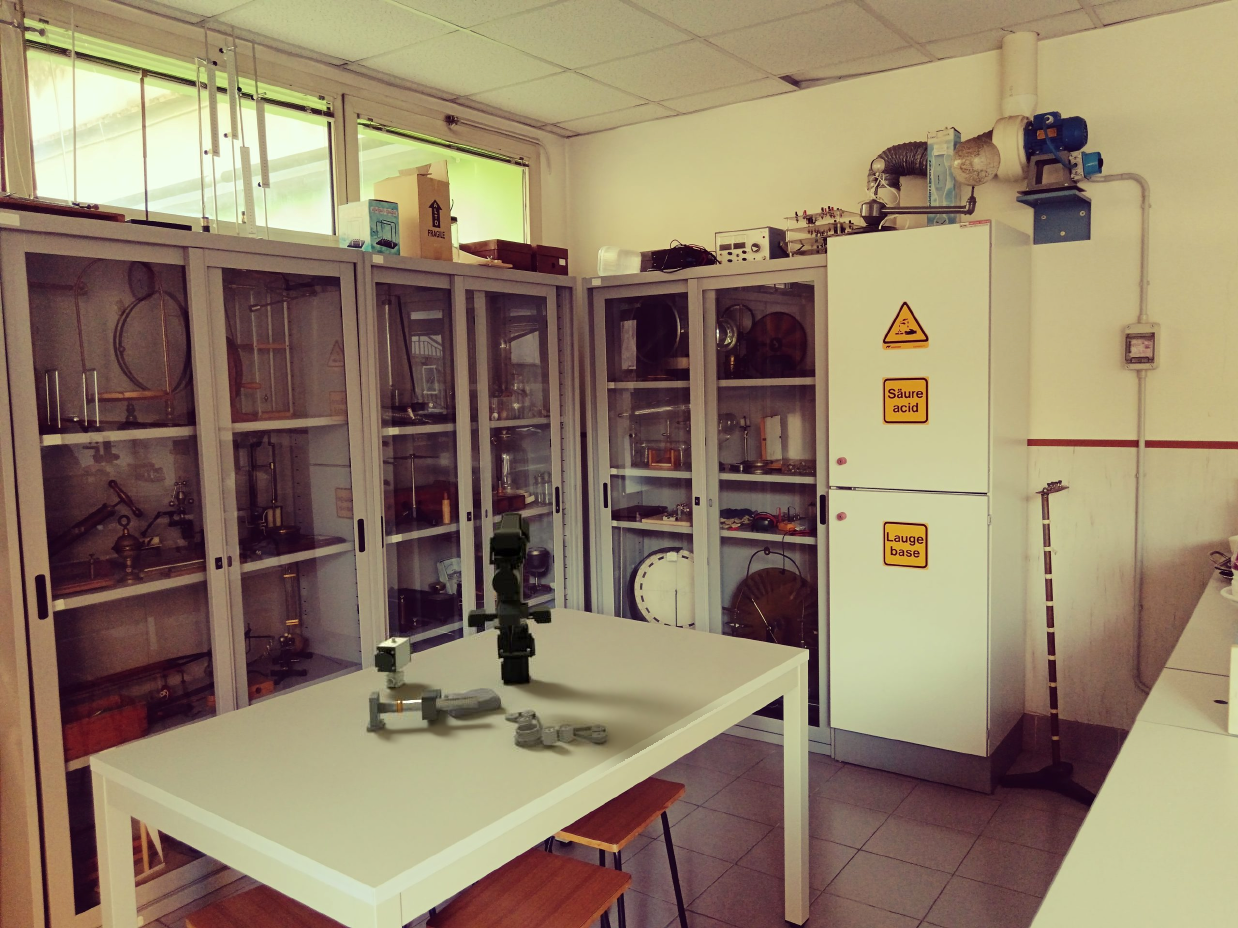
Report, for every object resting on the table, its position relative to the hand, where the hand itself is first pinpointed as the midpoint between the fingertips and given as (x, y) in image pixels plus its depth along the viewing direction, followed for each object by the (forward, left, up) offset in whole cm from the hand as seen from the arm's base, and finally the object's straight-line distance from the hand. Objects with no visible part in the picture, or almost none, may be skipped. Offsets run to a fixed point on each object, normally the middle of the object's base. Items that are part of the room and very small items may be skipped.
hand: (511, 653), depth 206 cm
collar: (+18, +5, -10) cm, 21 cm away
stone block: (+10, +1, -12) cm, 15 cm away
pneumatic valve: (+29, -18, -12) cm, 36 cm away
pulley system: (-6, +21, -12) cm, 25 cm away
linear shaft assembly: (+19, +10, -11) cm, 24 cm away
